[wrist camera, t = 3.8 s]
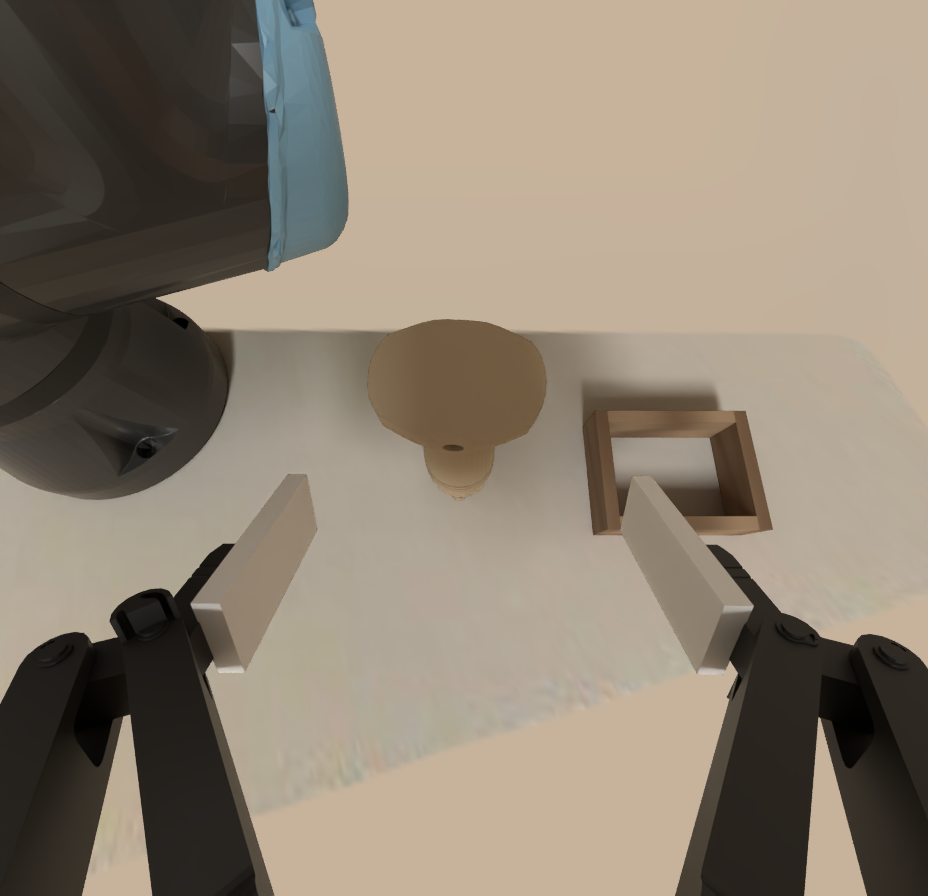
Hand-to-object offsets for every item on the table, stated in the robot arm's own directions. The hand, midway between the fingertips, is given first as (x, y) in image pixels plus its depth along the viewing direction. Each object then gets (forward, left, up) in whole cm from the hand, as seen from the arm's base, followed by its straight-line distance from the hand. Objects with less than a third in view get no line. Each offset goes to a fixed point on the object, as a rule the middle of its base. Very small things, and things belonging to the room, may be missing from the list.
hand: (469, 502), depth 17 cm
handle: (-1, +4, -12) cm, 12 cm away
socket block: (+13, +4, -11) cm, 18 cm away
